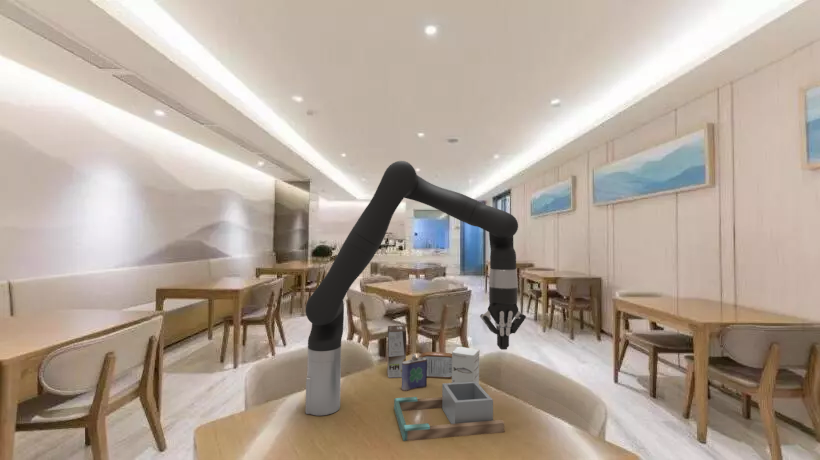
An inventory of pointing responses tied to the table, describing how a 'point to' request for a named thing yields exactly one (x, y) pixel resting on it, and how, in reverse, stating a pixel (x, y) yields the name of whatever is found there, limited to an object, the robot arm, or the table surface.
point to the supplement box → (465, 365)
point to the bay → (438, 430)
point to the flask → (414, 373)
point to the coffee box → (396, 350)
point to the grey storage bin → (466, 403)
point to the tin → (438, 364)
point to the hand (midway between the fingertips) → (503, 348)
